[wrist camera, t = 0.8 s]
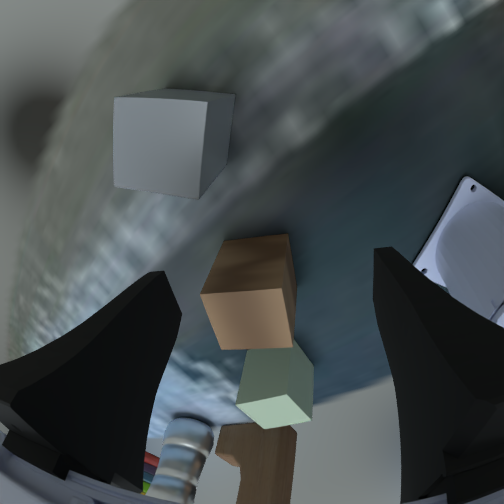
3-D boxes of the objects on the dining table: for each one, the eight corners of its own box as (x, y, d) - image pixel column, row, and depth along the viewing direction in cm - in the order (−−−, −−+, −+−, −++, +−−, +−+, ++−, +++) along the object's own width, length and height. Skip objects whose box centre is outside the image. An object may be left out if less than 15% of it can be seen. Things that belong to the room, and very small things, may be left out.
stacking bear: (118, 440, 49) (88, 514, 34) (167, 457, 48) (142, 536, 33) (127, 457, 54) (103, 521, 39) (171, 471, 54) (150, 539, 39)
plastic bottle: (227, 432, 38) (195, 564, 21) (189, 435, 40) (154, 552, 23) (197, 409, 35) (154, 554, 18) (160, 413, 38) (114, 539, 21)
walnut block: (288, 233, 21) (281, 288, 16) (296, 286, 23) (292, 347, 18) (224, 240, 22) (199, 294, 17) (238, 291, 24) (221, 349, 19)
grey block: (235, 94, 17) (207, 102, 12) (226, 164, 19) (198, 199, 14) (165, 88, 17) (114, 97, 12) (160, 155, 20) (113, 186, 15)
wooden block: (238, 439, 38) (213, 554, 23) (220, 424, 37) (189, 548, 21) (298, 432, 35) (283, 562, 20) (283, 416, 33) (263, 559, 18)
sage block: (291, 336, 26) (286, 394, 21) (313, 365, 28) (311, 420, 23) (247, 350, 28) (235, 404, 23) (271, 377, 30) (264, 429, 24)
